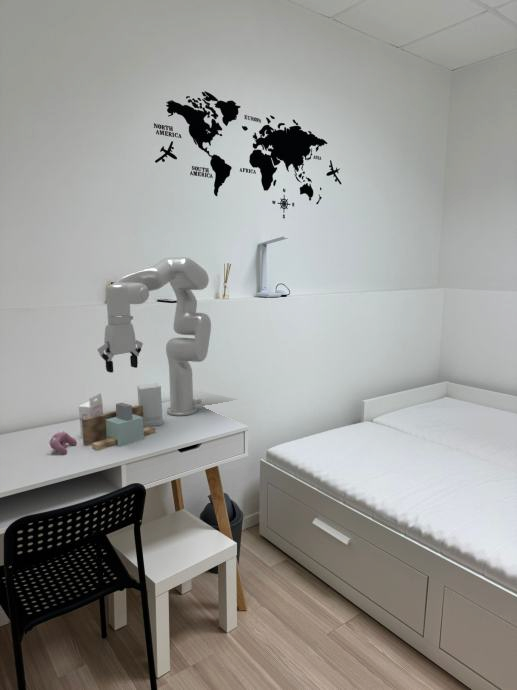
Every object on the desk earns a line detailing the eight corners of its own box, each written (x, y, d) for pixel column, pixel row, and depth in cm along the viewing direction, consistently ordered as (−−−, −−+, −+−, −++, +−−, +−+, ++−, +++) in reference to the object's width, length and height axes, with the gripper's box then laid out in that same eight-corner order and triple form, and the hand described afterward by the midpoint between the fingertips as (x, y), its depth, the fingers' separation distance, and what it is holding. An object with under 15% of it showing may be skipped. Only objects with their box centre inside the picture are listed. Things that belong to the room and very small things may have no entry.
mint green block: (130, 434, 184) (129, 399, 182) (144, 439, 178) (142, 403, 176) (106, 441, 176) (104, 405, 174) (119, 446, 171) (117, 409, 169)
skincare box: (159, 420, 200) (158, 382, 197) (163, 425, 194) (162, 386, 191) (138, 423, 196) (136, 384, 194) (141, 428, 190) (139, 388, 188)
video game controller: (67, 448, 173) (57, 431, 173) (78, 443, 173) (68, 425, 172) (55, 459, 164) (44, 441, 163) (67, 453, 163) (56, 435, 162)
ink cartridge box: (92, 429, 189) (90, 392, 186) (104, 430, 188) (102, 392, 185) (80, 437, 180) (77, 397, 178) (92, 438, 179) (90, 398, 177)
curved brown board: (141, 427, 191) (140, 404, 189) (155, 432, 185) (154, 409, 184) (83, 444, 173) (81, 419, 172) (96, 450, 167) (95, 424, 166)
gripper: (134, 317, 179) (136, 364, 182) (90, 322, 167) (94, 372, 170) (146, 318, 175) (149, 366, 177) (102, 324, 162) (106, 375, 165)
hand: (122, 369), depth 174 cm, fingers open, 9 cm apart
